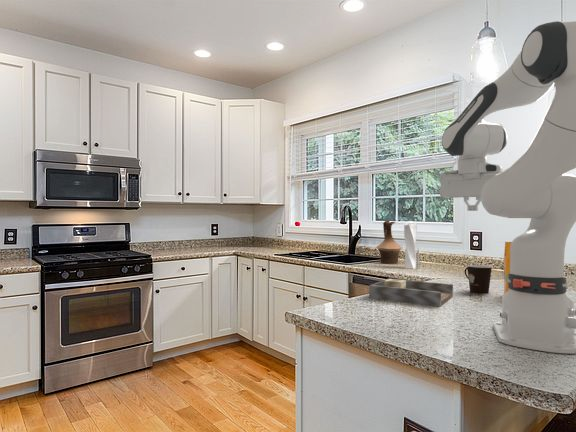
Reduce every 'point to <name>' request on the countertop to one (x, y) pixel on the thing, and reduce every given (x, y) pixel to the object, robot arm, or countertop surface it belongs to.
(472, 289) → the coffee mug
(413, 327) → the countertop surface
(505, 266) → the orange juice
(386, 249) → the brown vase
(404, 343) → the countertop surface
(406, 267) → the skyscraper
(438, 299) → the grey tray
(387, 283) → the birch block
